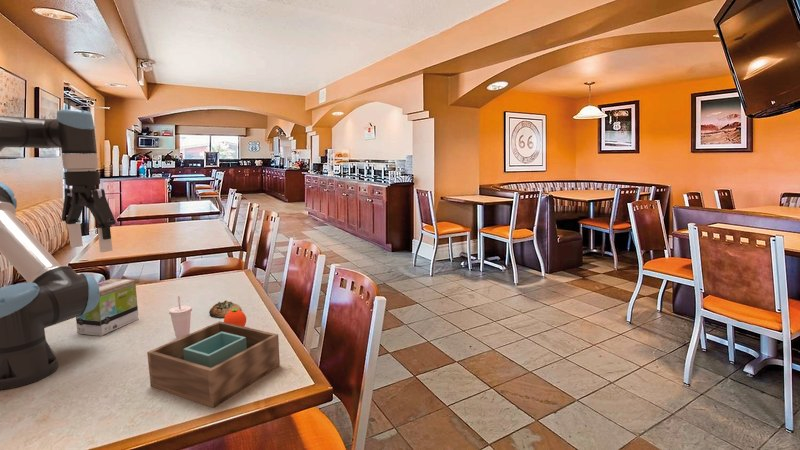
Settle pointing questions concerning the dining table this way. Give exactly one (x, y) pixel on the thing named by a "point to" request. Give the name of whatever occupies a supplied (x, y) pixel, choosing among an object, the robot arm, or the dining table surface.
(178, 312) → the smoothie
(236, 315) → the clementine
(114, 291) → the tea box
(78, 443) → the dining table surface
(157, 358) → the walnut crate
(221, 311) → the bread roll
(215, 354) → the teal crate
